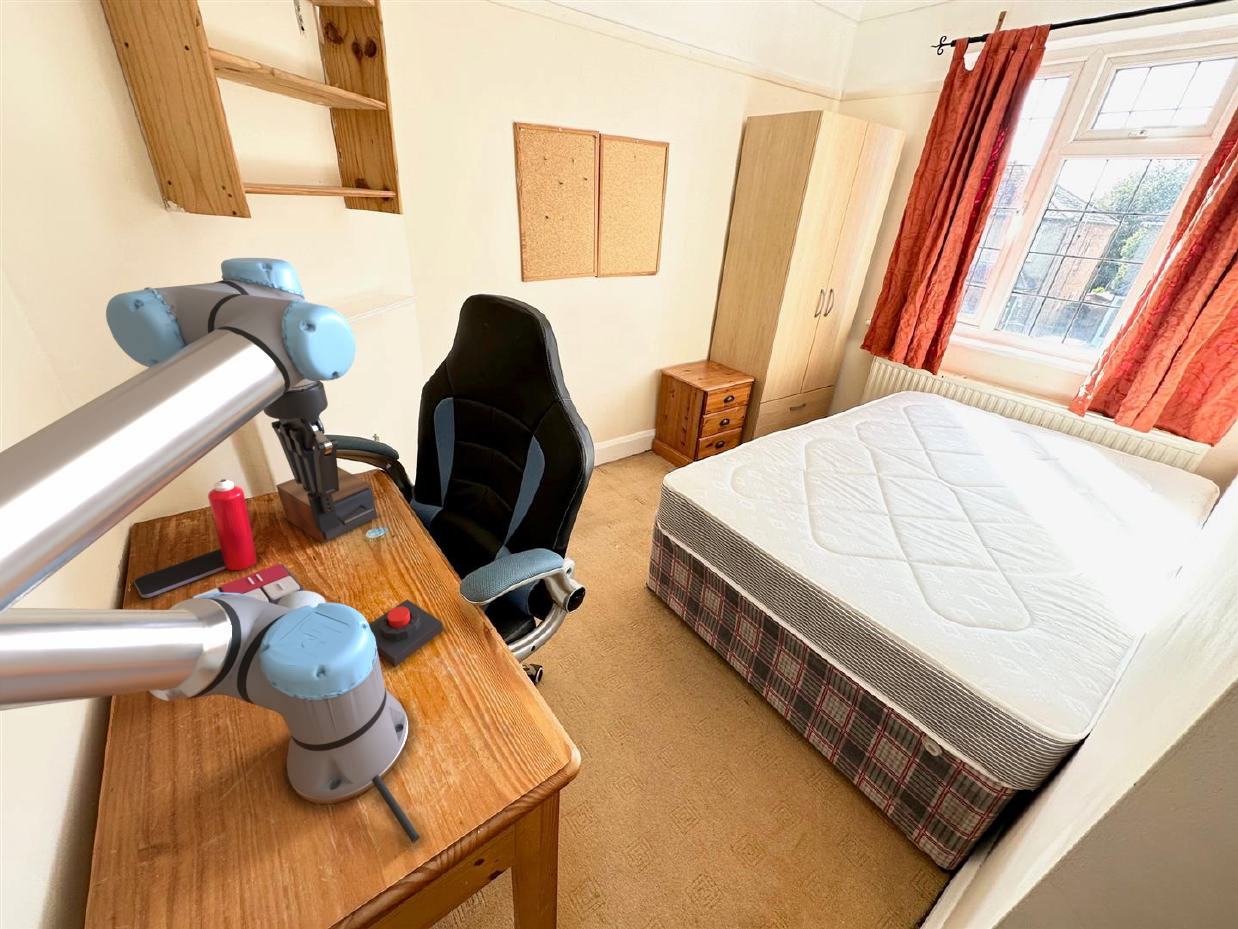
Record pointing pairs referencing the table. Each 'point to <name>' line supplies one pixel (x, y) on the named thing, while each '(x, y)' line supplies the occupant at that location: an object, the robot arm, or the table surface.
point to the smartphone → (180, 574)
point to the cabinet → (299, 505)
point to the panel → (404, 634)
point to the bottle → (232, 525)
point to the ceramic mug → (301, 599)
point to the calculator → (262, 585)
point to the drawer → (353, 512)
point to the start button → (398, 617)
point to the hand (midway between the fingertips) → (328, 527)
